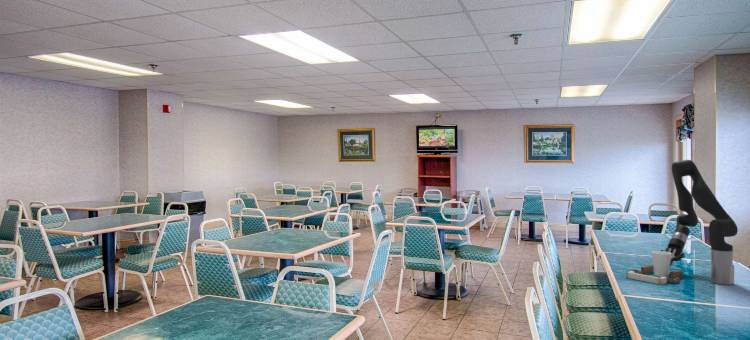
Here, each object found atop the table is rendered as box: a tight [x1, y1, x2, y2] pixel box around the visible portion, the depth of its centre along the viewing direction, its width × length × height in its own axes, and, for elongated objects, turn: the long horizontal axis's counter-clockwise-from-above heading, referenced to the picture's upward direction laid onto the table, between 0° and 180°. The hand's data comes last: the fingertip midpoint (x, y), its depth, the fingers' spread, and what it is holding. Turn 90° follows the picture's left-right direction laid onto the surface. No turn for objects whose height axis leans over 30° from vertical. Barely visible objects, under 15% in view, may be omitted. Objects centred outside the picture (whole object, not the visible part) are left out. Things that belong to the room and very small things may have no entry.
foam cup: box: [651, 250, 672, 278], centre depth 261 cm, size 10×9×13 cm
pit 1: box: [627, 268, 643, 275], centre depth 263 cm, size 6×6×2 cm
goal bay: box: [625, 271, 668, 285], centre depth 252 cm, size 18×6×3 cm, turn 34°
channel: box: [640, 264, 683, 279], centre depth 261 cm, size 17×10×4 cm, turn 34°
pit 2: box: [666, 275, 681, 285], centre depth 248 cm, size 6×6×2 cm
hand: (667, 265), depth 265 cm, fingers closed
